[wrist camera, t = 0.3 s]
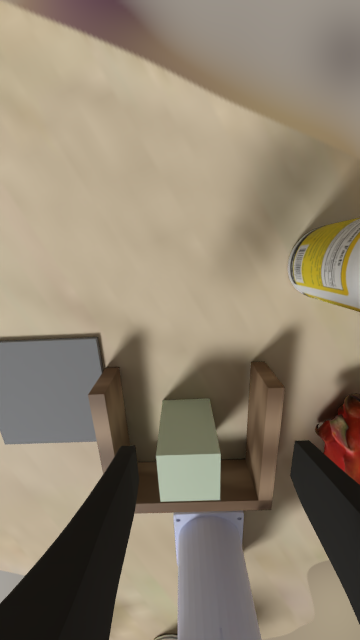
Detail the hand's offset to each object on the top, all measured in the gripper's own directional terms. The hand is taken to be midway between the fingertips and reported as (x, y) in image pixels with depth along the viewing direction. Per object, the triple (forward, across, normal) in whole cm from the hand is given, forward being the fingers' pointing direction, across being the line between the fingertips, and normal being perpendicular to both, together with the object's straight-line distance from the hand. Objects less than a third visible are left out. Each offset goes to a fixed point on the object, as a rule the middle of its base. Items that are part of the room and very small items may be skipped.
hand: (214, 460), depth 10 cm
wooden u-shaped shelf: (+10, +1, +6) cm, 12 cm away
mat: (+10, +14, +3) cm, 18 cm away
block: (+10, +1, +6) cm, 12 cm away
